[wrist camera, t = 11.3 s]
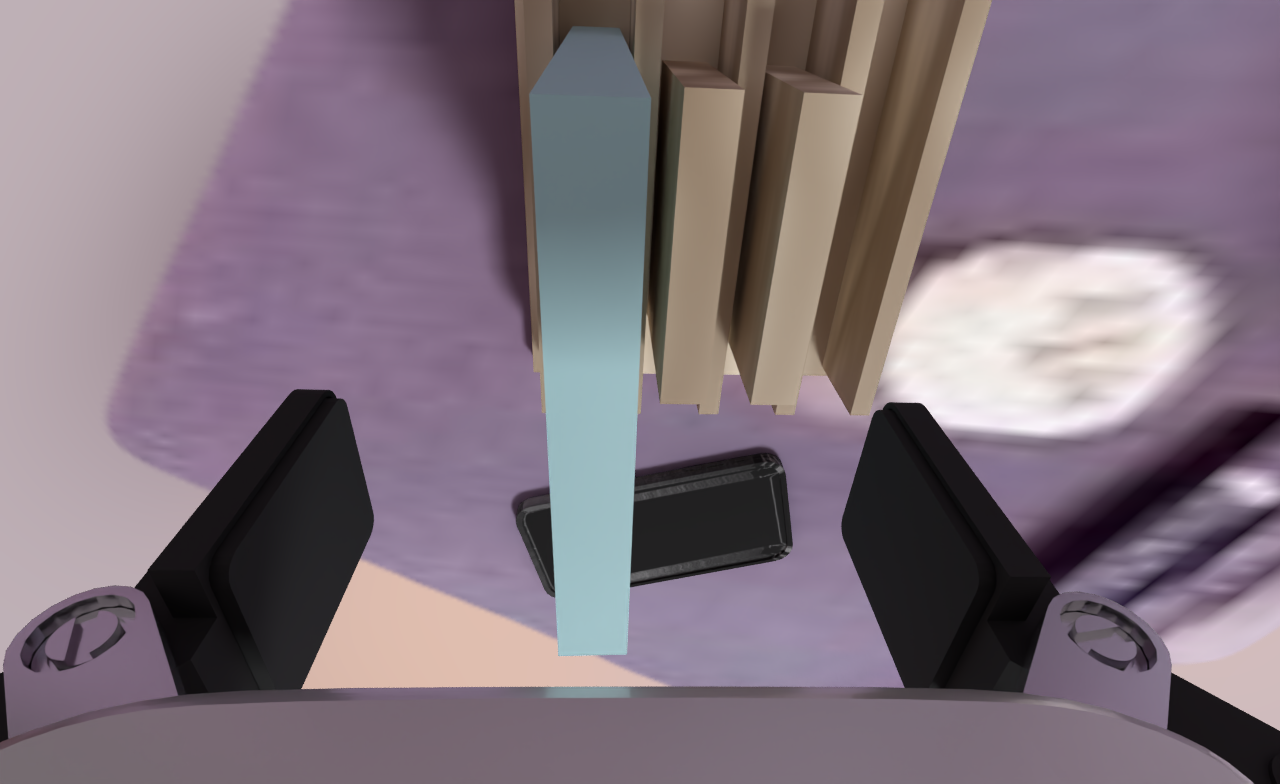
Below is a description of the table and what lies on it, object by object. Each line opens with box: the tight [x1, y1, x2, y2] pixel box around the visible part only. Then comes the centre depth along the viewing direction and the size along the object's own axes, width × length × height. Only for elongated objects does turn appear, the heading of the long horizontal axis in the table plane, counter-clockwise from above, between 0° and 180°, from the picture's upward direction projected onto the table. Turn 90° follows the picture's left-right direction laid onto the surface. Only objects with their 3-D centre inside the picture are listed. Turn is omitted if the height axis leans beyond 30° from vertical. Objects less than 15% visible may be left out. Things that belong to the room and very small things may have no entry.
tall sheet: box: [529, 26, 651, 656], centre depth 18 cm, size 2×12×16 cm, turn 178°
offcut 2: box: [728, 65, 863, 405], centre depth 22 cm, size 2×10×7 cm, turn 177°
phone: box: [516, 453, 793, 597], centre depth 36 cm, size 8×1×15 cm
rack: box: [514, 0, 992, 415], centre depth 24 cm, size 15×16×5 cm
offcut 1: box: [647, 60, 745, 404], centre depth 22 cm, size 2×10×7 cm, turn 178°
